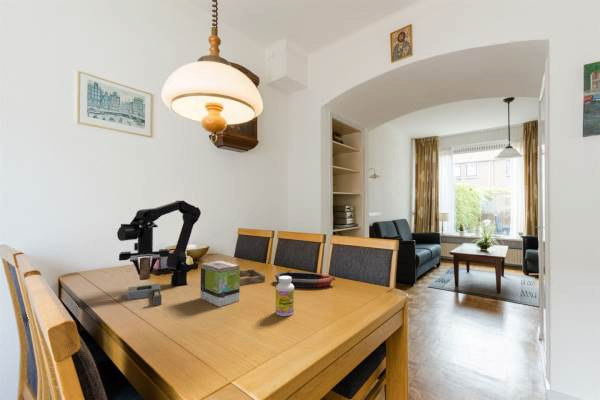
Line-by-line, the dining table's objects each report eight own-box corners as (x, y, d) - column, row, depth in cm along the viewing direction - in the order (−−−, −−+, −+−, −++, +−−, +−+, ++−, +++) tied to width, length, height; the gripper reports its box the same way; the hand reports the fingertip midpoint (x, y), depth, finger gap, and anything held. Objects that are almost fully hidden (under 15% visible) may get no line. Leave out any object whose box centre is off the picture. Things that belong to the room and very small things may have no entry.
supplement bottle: (276, 317, 93) (276, 280, 93) (274, 310, 99) (274, 275, 100) (295, 316, 94) (295, 279, 95) (292, 309, 101) (292, 274, 101)
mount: (159, 290, 123) (159, 283, 123) (160, 295, 116) (160, 288, 116) (128, 294, 117) (128, 287, 118) (127, 300, 110) (127, 293, 110)
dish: (280, 278, 145) (280, 269, 145) (337, 282, 137) (337, 272, 137) (269, 286, 130) (269, 276, 130) (332, 292, 122) (332, 280, 122)
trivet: (253, 274, 152) (253, 269, 152) (264, 281, 138) (264, 275, 138) (223, 278, 144) (223, 272, 144) (232, 286, 129) (232, 280, 129)
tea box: (240, 301, 109) (240, 264, 110) (218, 307, 102) (218, 268, 103) (220, 292, 120) (221, 259, 120) (199, 298, 112) (199, 262, 113)
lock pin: (159, 295, 115) (160, 287, 115) (161, 304, 105) (161, 295, 105) (152, 296, 114) (152, 288, 114) (153, 305, 103) (153, 297, 103)
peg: (150, 277, 120) (150, 256, 120) (150, 279, 116) (150, 258, 116) (139, 278, 118) (139, 257, 118) (139, 280, 114) (139, 259, 114)
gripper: (167, 235, 129) (167, 268, 128) (121, 237, 120) (120, 272, 119) (169, 237, 119) (169, 273, 119) (119, 240, 110) (118, 278, 110)
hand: (144, 274), depth 117 cm, fingers closed on peg, 4 cm apart
